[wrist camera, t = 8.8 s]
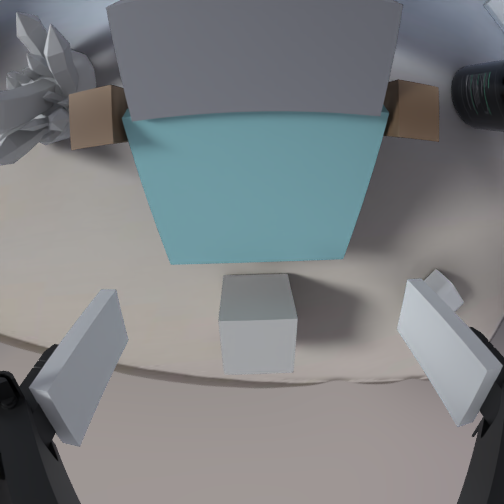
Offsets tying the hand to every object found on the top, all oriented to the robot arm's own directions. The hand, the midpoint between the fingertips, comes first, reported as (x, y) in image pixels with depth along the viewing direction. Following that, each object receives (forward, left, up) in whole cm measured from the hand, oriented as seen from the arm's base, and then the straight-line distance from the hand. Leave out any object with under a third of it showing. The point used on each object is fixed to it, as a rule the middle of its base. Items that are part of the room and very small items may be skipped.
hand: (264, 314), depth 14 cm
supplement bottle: (-13, +23, -16) cm, 31 cm away
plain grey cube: (+9, 0, -9) cm, 13 cm away
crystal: (-14, -19, -16) cm, 29 cm away
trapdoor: (-8, 0, -9) cm, 13 cm away
